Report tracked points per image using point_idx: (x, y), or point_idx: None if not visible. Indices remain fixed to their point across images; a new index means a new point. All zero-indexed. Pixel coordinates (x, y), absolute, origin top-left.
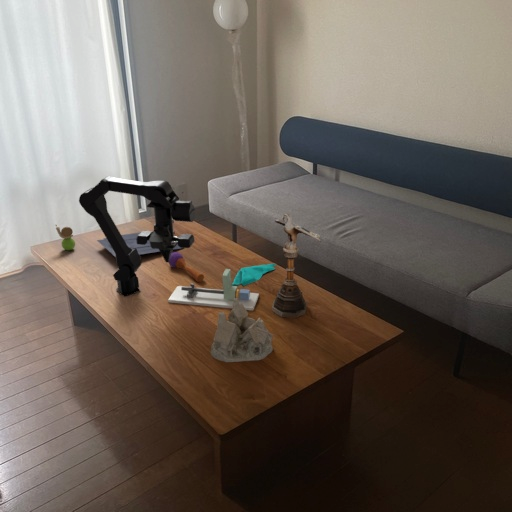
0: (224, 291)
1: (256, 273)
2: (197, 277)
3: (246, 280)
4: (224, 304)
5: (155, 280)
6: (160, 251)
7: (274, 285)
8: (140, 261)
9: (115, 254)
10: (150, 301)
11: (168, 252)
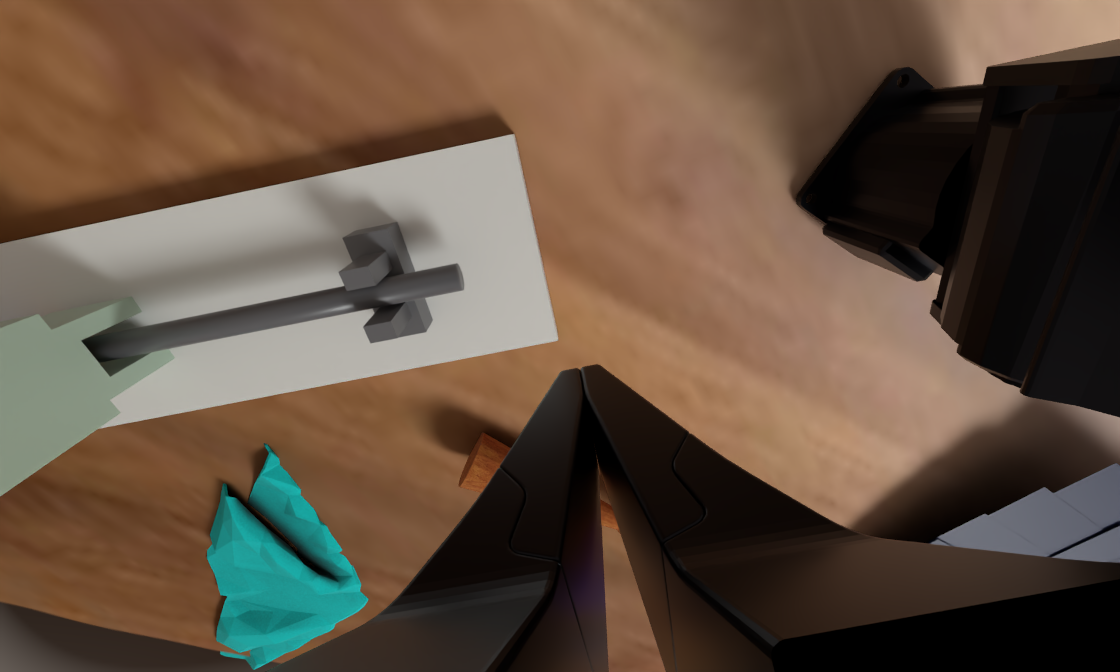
0: (58, 325)
1: (262, 591)
2: (476, 453)
3: (224, 526)
4: (79, 239)
5: (744, 363)
6: (754, 483)
7: (88, 539)
8: (990, 344)
9: (1115, 487)
10: (654, 87)
11: (495, 517)
